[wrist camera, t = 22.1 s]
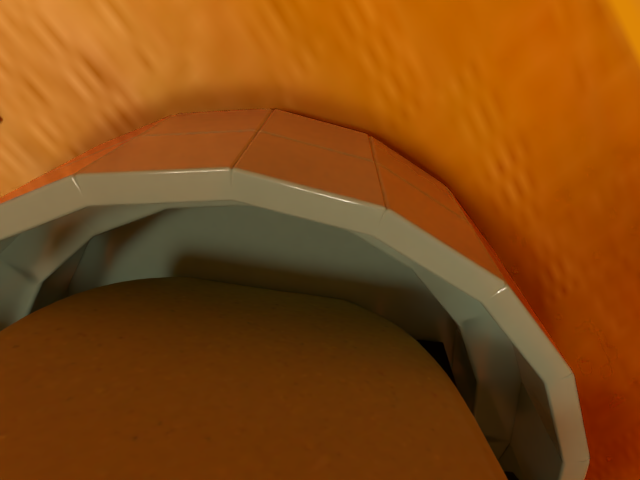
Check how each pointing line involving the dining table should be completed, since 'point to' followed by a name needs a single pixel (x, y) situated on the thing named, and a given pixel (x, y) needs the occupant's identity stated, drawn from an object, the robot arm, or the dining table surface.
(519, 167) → the dining table surface
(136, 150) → the bowl
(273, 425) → the flower pot
